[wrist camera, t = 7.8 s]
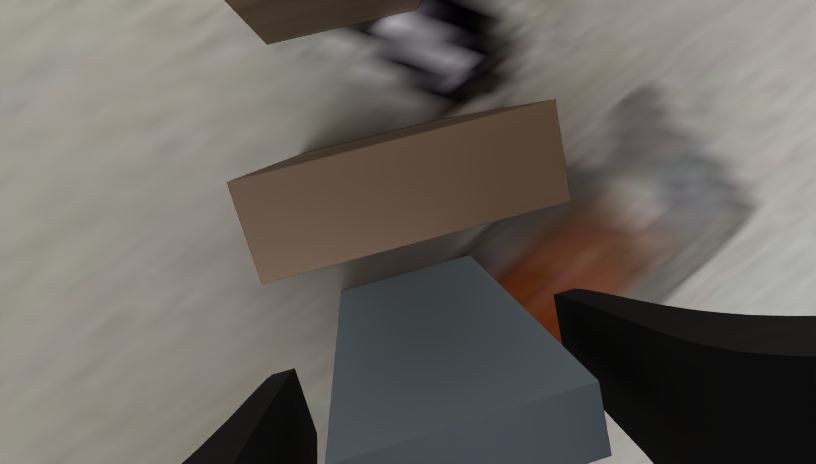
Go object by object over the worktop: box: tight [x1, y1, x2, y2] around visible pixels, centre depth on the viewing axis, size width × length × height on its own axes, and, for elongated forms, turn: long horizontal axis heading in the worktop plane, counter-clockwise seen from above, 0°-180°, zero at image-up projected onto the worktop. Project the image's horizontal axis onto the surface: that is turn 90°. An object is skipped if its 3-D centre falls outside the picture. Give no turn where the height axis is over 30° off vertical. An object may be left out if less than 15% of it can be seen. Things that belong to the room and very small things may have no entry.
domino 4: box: [227, 99, 571, 284], centre depth 11 cm, size 2×5×9 cm, turn 104°
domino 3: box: [325, 255, 612, 464], centre depth 12 cm, size 2×5×9 cm, turn 104°
